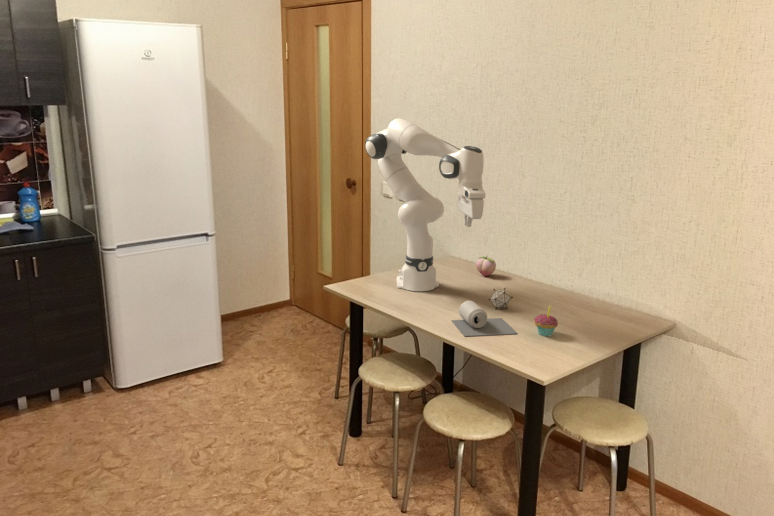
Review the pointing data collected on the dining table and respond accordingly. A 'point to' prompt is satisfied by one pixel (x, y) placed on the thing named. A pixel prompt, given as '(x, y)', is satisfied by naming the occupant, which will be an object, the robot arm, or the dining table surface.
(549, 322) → the cupcake
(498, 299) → the game die
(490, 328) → the mat
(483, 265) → the decorative fruit
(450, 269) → the dining table surface
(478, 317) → the can
